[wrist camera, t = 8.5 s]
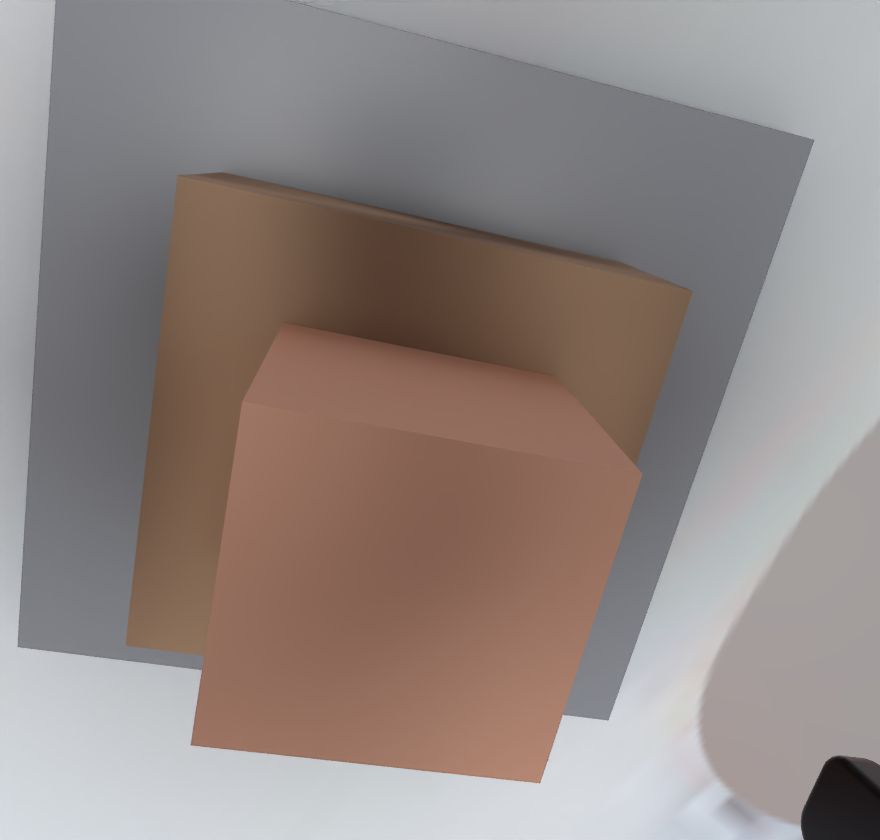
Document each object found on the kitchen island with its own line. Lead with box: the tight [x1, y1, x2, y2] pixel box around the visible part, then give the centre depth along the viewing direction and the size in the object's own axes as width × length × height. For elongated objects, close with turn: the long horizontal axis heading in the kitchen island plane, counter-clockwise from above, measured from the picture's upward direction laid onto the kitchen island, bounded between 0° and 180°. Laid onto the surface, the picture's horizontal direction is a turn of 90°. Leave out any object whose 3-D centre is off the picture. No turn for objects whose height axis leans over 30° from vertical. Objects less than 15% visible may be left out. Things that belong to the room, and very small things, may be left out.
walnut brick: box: [125, 172, 693, 656], centre depth 16 cm, size 9×9×4 cm
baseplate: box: [18, 0, 814, 720], centre depth 18 cm, size 16×16×1 cm
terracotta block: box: [191, 323, 642, 783], centre depth 12 cm, size 5×5×4 cm
